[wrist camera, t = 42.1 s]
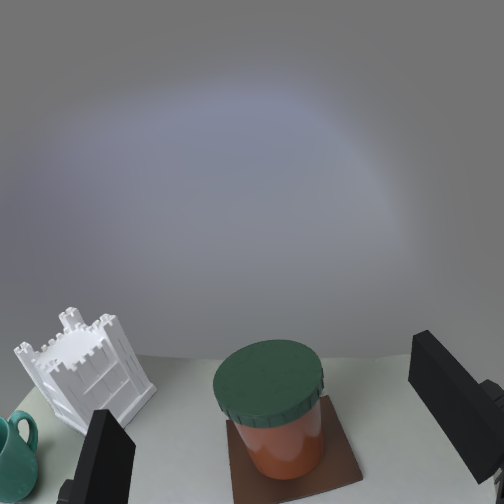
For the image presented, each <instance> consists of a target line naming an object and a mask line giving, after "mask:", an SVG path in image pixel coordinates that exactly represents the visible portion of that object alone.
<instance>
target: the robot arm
mask: <svg viewBox="0 0 504 504" xmlns="http://www.w3.org/2000/svg"><path fill="white" fill-rule="evenodd" d="M408 381H409V382H410V384H411V385H412V387H413V388H414V389H415V391H416V392H417V394H418V395H419V396H420V398H421V399H422V401H423V402H424V403H425V405H426V406H427V408H428V409H429V411H430V412H431V414H432V415H433V416H434V418H435V419H436V421H437V422H438V424H439V425H440V427H441V428H442V430H443V431H444V432H445V434H446V435H447V437H448V438H449V440H450V441H451V443H452V444H453V446H454V447H455V449H456V450H457V452H458V453H459V455H460V456H461V458H462V459H463V461H464V463H465V464H466V466H467V467H468V469H469V470H470V472H471V473H472V475H473V477H474V478H475V480H476V481H477V483H478V484H481V483H482V482H484V481H485V480H487V479H488V478H489V477H491V476H492V475H494V474H495V472H496V471H497V470H498V468H499V467H500V468H501V470H502V472H501V474H500V475H499V476H498V477H497V478H496V480H495V483H494V484H497V483H498V482H499V481H500V483H499V489H498V494H497V499H496V504H504V390H503V389H502V388H501V387H500V386H499V385H498V384H496V383H494V382H492V381H490V380H485V381H484V382H482V383H480V384H478V383H477V382H476V381H475V380H474V379H473V377H471V375H470V374H469V373H468V372H467V371H466V370H465V369H464V368H463V366H461V364H460V363H459V362H458V361H457V360H456V359H455V358H454V357H453V356H452V355H451V354H450V353H449V351H448V350H447V349H446V348H445V347H444V346H443V345H442V344H441V343H440V342H439V341H438V340H437V339H436V338H435V337H434V336H433V335H432V334H431V333H430V332H429V331H428V330H425V331H423V332H421V333H418V334H416V335H414V336H413V341H412V352H411V361H410V369H409V377H408ZM135 449H136V445H135V443H134V442H133V441H132V440H131V438H130V437H129V436H128V435H127V433H126V432H125V431H124V429H123V428H122V427H121V425H120V424H119V423H118V421H117V420H116V419H115V417H114V416H113V415H112V413H111V412H110V410H109V409H100V410H94V412H93V415H92V418H91V421H90V424H89V427H88V431H87V434H86V437H85V440H84V444H83V447H82V451H81V454H80V457H79V461H78V465H77V468H76V472H75V476H74V480H70V479H66V481H65V482H64V484H63V485H62V487H61V488H60V491H59V495H58V501H57V503H56V504H128V497H129V489H130V482H131V475H132V468H133V461H134V455H135Z"/></svg>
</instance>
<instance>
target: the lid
mask: <svg viewBox="0 0 504 504" xmlns="http://www.w3.org/2000/svg"><path fill="white" fill-rule="evenodd" d="M323 378H324V375H323V368H322V366H321V362H320V359H319V358H318V356H317V355H316V353H315V352H314V351H313V350H312V349H310V348H309V347H307V346H306V345H303V344H301V343H298V342H295V341H290V340H268V341H262V342H258V343H254V344H251V345H248V346H246V347H244V348H242V349H240V350H238V351H236V352H235V353H233V354H232V355H230V356H229V357H228V358H227V359H226V360H225V361H224V362H223V363H222V364H221V365H220V366H219V368H218V370H217V371H216V374H215V376H214V380H213V390H214V394H215V396H216V399H217V401H218V404H219V406H220V408H221V410H222V411H223V412H224V413H225V414H226V416H228V417H229V419H231V420H233V421H234V422H236V423H238V424H240V425H243V426H247V427H252V428H273V427H279V426H282V425H286V424H288V423H291V422H293V421H295V420H297V419H299V418H301V417H302V416H303V415H305V414H306V413H307V412H309V411H310V410H311V409H312V408H313V407H314V405H315V404H316V403H317V401H318V400H319V399H320V396H321V394H322V390H323V388H324V384H323Z"/></svg>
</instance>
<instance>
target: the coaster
mask: <svg viewBox="0 0 504 504" xmlns="http://www.w3.org/2000/svg"><path fill="white" fill-rule="evenodd" d="M320 406H321V414H322V423H323V431H324V440H325V452H324V455H323V457H322V459H321V461H320V462H319V464H318V465H317V466H316V467H315V468H314V469H313V470H311V471H310V472H309V473H307V474H305V475H303V476H300V477H297V478H294V479H286V480H281V479H274V478H270V477H268V476H265V475H264V474H262V473H261V472H259V471H258V470H257V469H256V468H255V466H254V464H253V462H252V460H251V458H250V456H249V454H248V452H247V450H246V448H245V446H244V443H243V441H242V439H241V437H240V435H239V433H238V430H237V428H236V426H235V424H234V421H233V420H231V419H230V420H226V425H227V437H228V448H229V459H230V470H231V480H232V490H233V499H234V504H278V503H283V502H288V501H292V500H296V499H300V498H304V497H308V496H312V495H316V494H319V493H323V492H326V491H330V490H333V489H336V488H339V487H342V486H346V485H349V484H352V483H354V482H357V481H360V480H363V476H362V473H361V471H360V469H359V466H358V464H357V462H356V459H355V457H354V454H353V452H352V450H351V447H350V445H349V443H348V440H347V438H346V436H345V433H344V431H343V429H342V426H341V424H340V422H339V419H338V417H337V414H336V412H335V410H334V407H333V405H332V403H331V401H330V398H329V396H328V395H326V396H323V397H320Z"/></svg>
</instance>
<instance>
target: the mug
mask: <svg viewBox="0 0 504 504" xmlns="http://www.w3.org/2000/svg"><path fill="white" fill-rule="evenodd" d="M22 419H26V420H27V421H28V424H29V429H30V432H29V439H28V442H27V444H26V442H25V441H24V440H23V439H22V438H21V436H20V435H19V430H18V423H19V421H20V420H22ZM37 444H38V430H37V426H36V423H35V421H34V419H33V418H32V417H31V416H30V415H29V414H28V413H26V412H24V411H15V412H14V413H13V414H12V415H11V417H10V419H9V422H7V421H6V420H5V419H4V418H2V417H0V502H4V503H13V502H17V501H19V500H21V499H23V498H25V497H26V496H27V495H28V494H29V493H30V492H31V490H32V489H33V487H34V485H35V483H36V480H37V475H38V466H37V461H36V458H35V456H34V454H35V452H36V449H37Z"/></svg>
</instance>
